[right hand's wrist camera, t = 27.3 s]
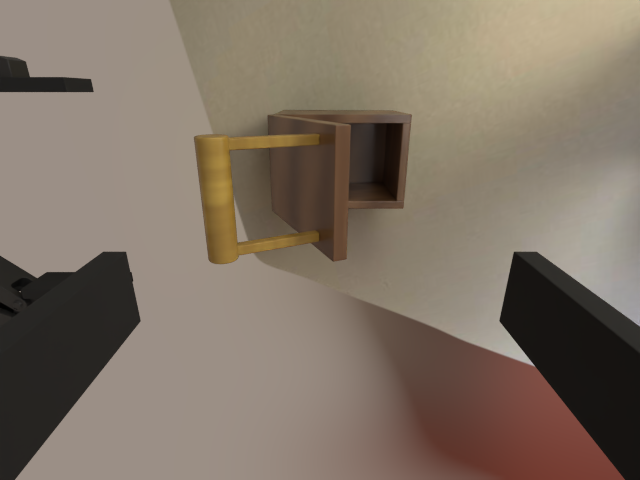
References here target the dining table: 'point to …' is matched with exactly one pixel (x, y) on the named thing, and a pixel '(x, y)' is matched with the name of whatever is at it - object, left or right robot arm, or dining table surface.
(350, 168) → the chest
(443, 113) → the dining table surface
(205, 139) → the lid
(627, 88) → the dining table surface
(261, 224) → the dining table surface
